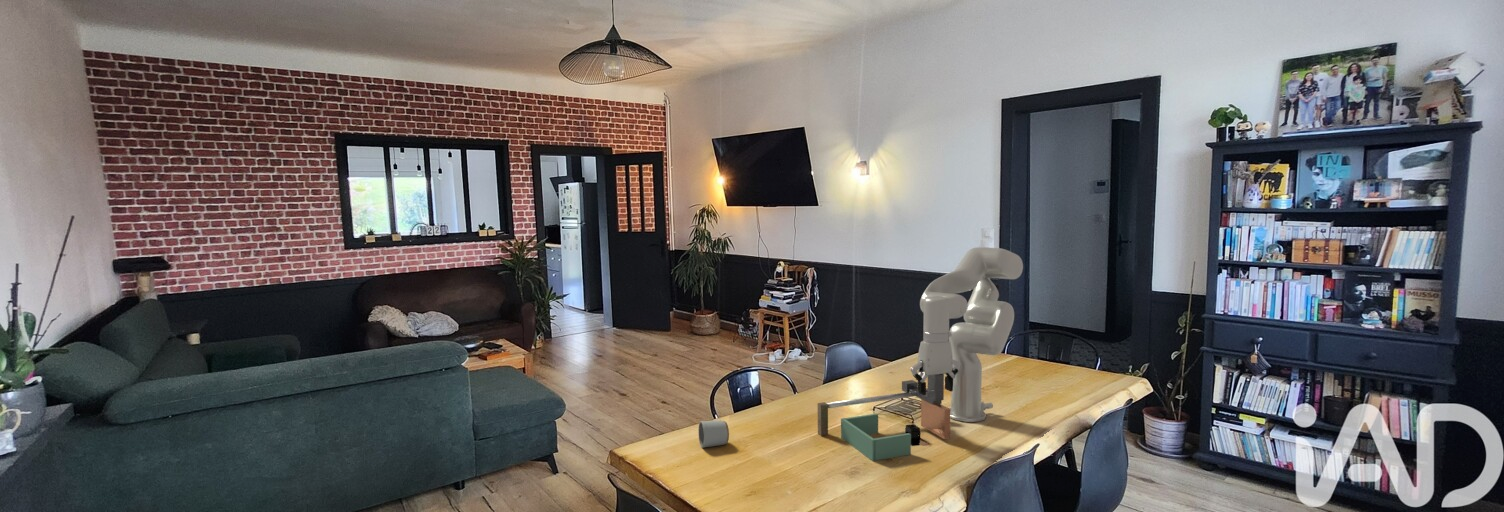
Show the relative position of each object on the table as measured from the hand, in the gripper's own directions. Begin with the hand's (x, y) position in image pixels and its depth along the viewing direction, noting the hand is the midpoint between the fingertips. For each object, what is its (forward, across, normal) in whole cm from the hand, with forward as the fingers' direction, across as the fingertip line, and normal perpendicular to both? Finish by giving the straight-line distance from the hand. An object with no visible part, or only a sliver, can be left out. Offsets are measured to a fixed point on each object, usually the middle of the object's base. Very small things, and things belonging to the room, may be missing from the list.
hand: (935, 392), depth 197 cm
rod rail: (+14, +12, -14) cm, 23 cm away
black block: (+15, +8, 0) cm, 17 cm away
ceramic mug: (+14, +66, -20) cm, 70 cm away
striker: (+13, 0, -5) cm, 13 cm away
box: (+14, +21, 0) cm, 25 cm away
